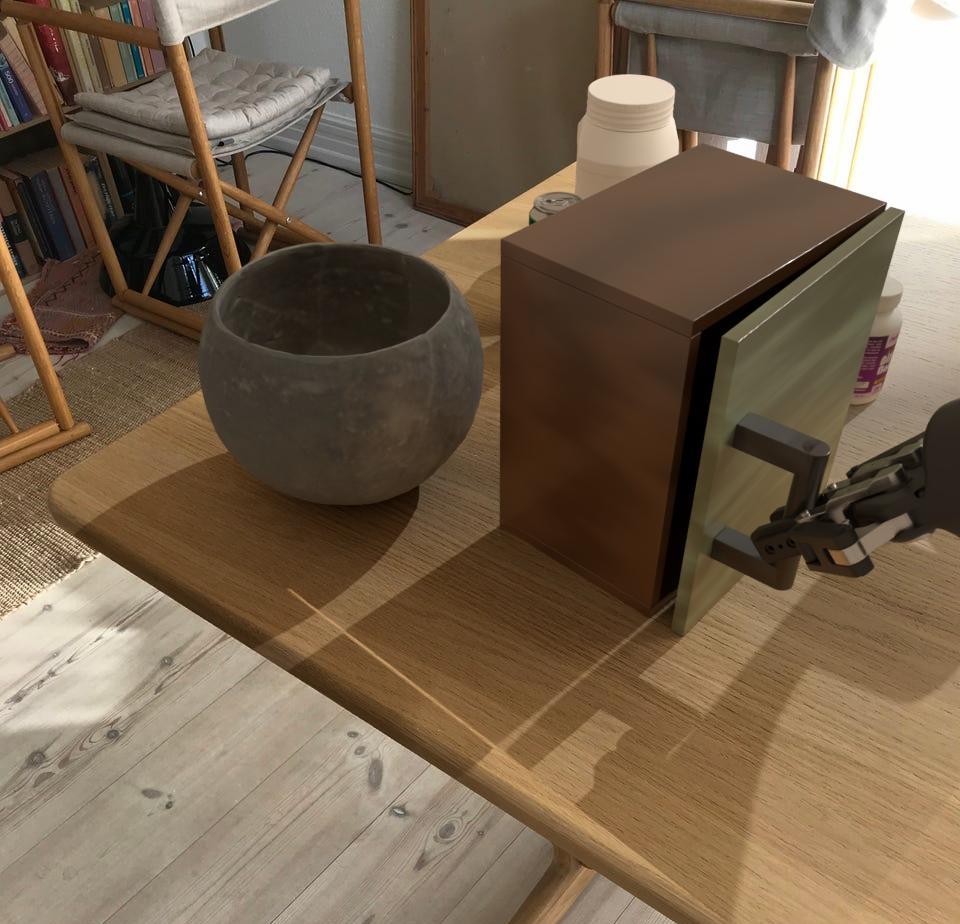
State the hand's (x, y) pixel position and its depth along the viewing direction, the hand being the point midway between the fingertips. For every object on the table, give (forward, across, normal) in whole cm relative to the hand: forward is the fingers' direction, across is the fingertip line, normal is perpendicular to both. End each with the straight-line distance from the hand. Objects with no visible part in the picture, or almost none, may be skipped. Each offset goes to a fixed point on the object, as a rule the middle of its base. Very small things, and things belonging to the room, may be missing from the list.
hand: (769, 537), depth 62 cm
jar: (+35, -42, -21) cm, 59 cm away
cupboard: (+15, -8, -2) cm, 17 cm away
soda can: (+31, -24, -17) cm, 43 cm away
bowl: (+30, +3, -17) cm, 34 cm away
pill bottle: (+12, -32, +1) cm, 34 cm away
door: (+7, -8, +5) cm, 12 cm away
